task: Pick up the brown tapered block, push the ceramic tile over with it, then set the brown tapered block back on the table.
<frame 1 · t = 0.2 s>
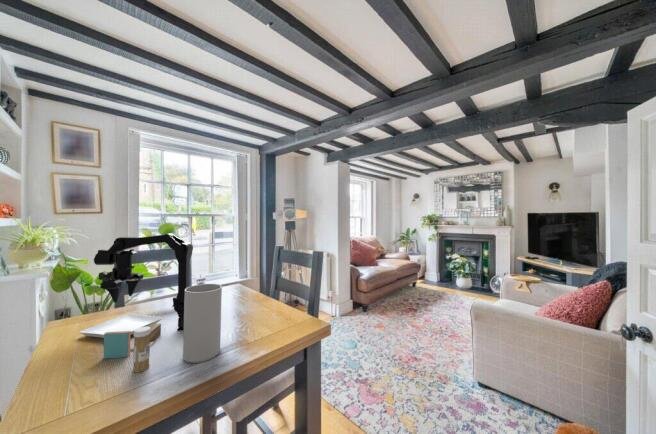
hand: (123, 299, 112), 14 cm above the table, fingers open, 9 cm apart
sprinkles bottle: (141, 369, 83), on the table
ceramic tile: (116, 357, 90), on the table
salad plate: (123, 331, 112), on the table
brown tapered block: (151, 339, 104), on the table
cylinder vase: (202, 355, 93), on the table
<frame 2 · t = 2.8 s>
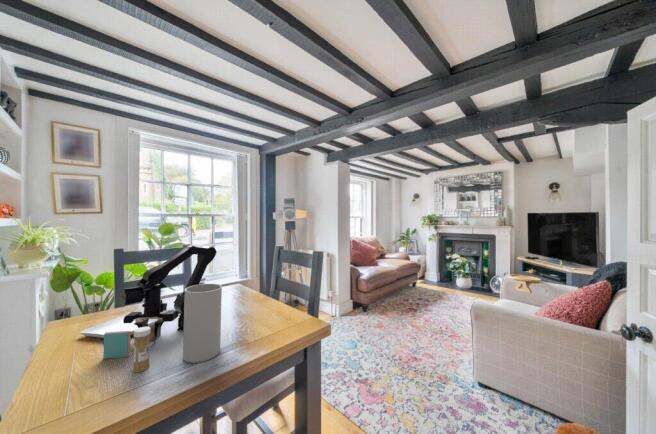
hand: (151, 337, 104), 1 cm above the table, fingers closed on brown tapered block, 3 cm apart
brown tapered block: (151, 339, 104), on the table, touching gripper
everything else where it was.
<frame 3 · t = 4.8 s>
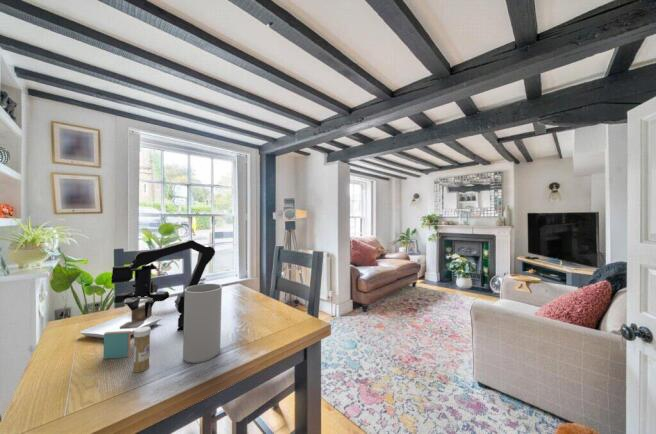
hand: (142, 317, 105), 9 cm above the table, fingers closed on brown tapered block, 3 cm apart
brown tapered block: (141, 319, 105), point 8 cm above the table, touching gripper
everything else where it was.
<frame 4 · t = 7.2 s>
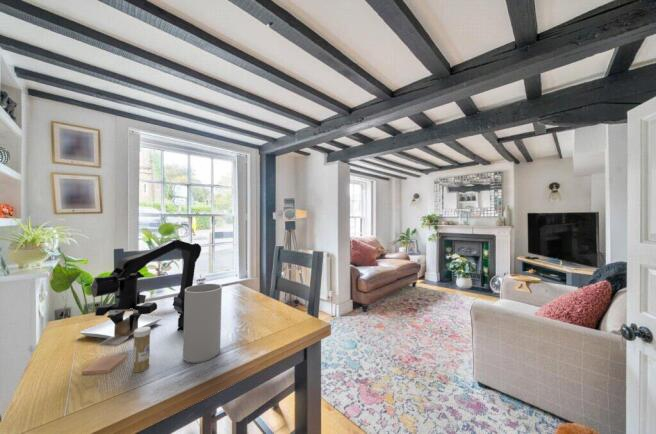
hand: (126, 331, 96), 7 cm above the table, fingers closed on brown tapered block, 3 cm apart
ceramic tile: (115, 357, 89), on the table, tilted 90°
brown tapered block: (126, 333, 96), point 6 cm above the table, touching gripper
everything else where it was.
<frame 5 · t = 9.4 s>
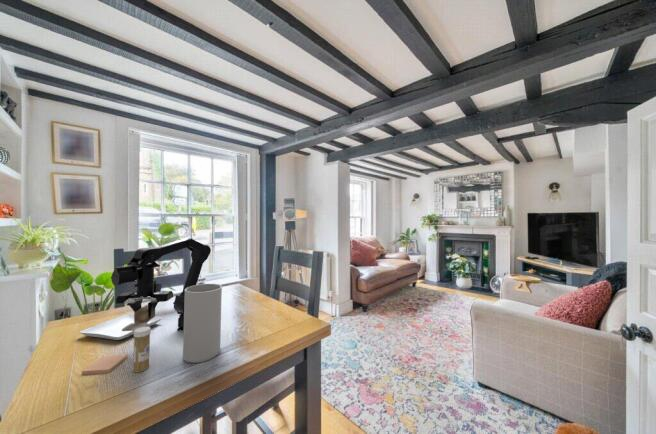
hand: (145, 318, 100), 11 cm above the table, fingers closed on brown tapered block, 3 cm apart
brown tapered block: (145, 320, 100), point 10 cm above the table, touching gripper
everything else where it was.
when the fingers open (2 cm above the table, at t = 11.6 s): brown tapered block drops 1 cm, on the table.
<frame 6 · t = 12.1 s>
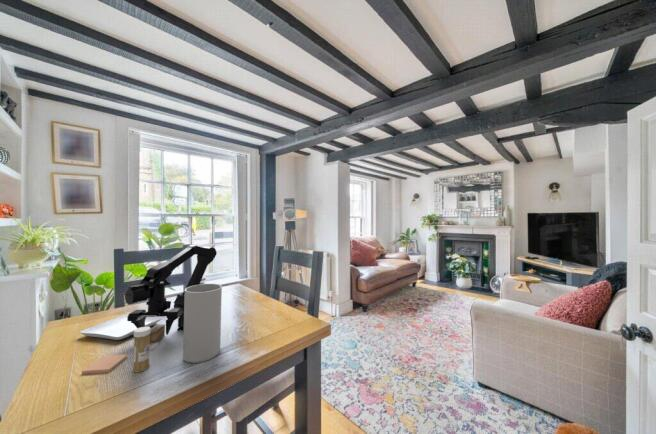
hand: (155, 334, 103), 2 cm above the table, fingers open, 9 cm apart
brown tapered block: (155, 340, 103), on the table
everything else where it was.
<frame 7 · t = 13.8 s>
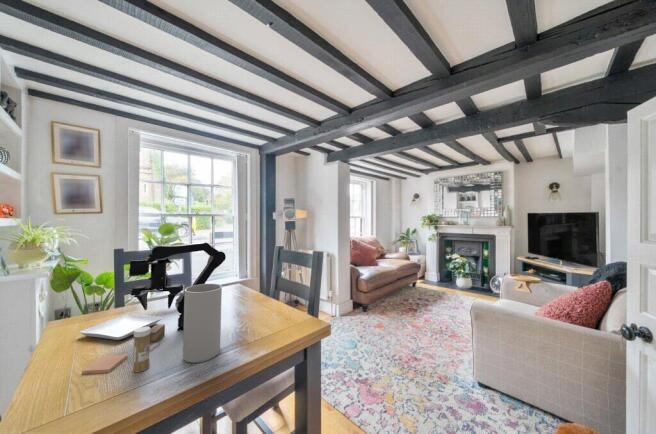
hand: (157, 309, 109), 11 cm above the table, fingers open, 9 cm apart
nothing on the table moved.
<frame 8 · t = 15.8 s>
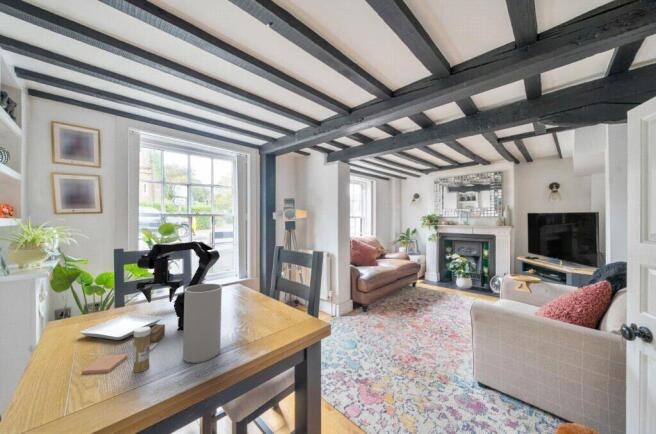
hand: (160, 302, 118), 11 cm above the table, fingers open, 9 cm apart
nothing on the table moved.
at the end: ceramic tile tilted 90°; the gripper is holding nothing; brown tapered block on the table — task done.
